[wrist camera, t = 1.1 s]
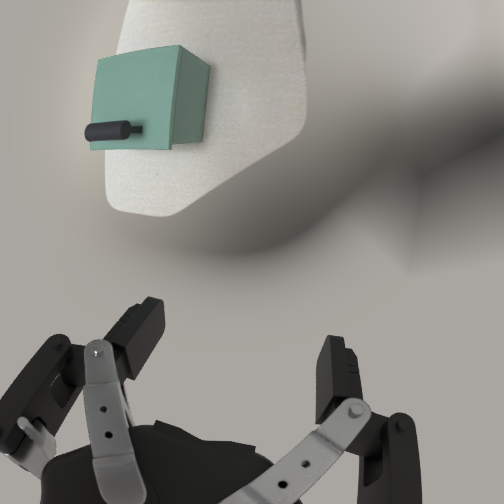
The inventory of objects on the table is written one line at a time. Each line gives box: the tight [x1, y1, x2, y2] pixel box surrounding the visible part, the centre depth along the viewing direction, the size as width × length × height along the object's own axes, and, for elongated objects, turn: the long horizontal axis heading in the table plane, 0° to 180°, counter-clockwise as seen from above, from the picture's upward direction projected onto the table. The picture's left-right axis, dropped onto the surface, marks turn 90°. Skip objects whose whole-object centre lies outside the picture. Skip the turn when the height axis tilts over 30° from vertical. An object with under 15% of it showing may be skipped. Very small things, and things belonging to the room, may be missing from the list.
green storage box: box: [172, 48, 210, 144], centre depth 27 cm, size 10×10×9 cm
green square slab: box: [85, 45, 183, 150], centre depth 21 cm, size 11×10×5 cm
